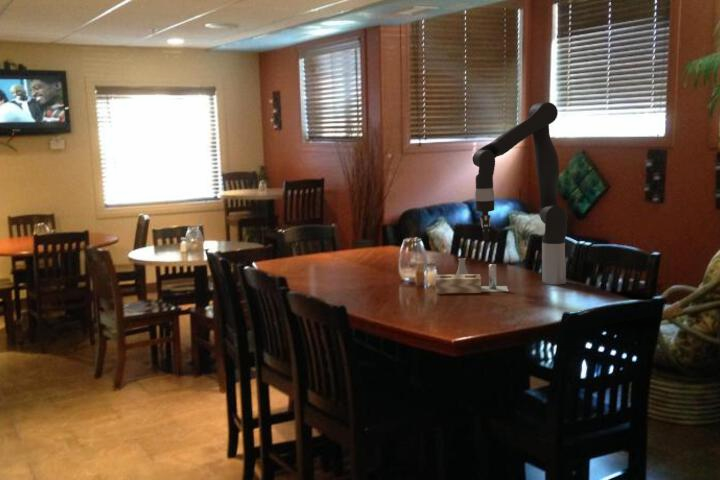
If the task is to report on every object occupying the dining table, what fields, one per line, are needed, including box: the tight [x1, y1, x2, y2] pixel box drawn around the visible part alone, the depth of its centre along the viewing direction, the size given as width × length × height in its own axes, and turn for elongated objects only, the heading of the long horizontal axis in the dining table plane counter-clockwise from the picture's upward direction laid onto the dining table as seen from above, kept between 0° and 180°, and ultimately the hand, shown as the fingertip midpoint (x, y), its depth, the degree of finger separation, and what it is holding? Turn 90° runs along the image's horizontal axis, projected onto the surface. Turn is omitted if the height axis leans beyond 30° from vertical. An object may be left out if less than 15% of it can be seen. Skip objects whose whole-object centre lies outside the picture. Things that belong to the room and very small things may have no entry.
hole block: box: [435, 273, 482, 295], centre depth 293 cm, size 18×10×6 cm, turn 83°
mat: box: [481, 285, 509, 293], centre depth 294 cm, size 12×10×1 cm
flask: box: [456, 257, 469, 274], centre depth 312 cm, size 7×7×10 cm
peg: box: [488, 263, 497, 289], centre depth 293 cm, size 3×3×10 cm
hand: (485, 238), depth 293 cm, fingers open, 8 cm apart
